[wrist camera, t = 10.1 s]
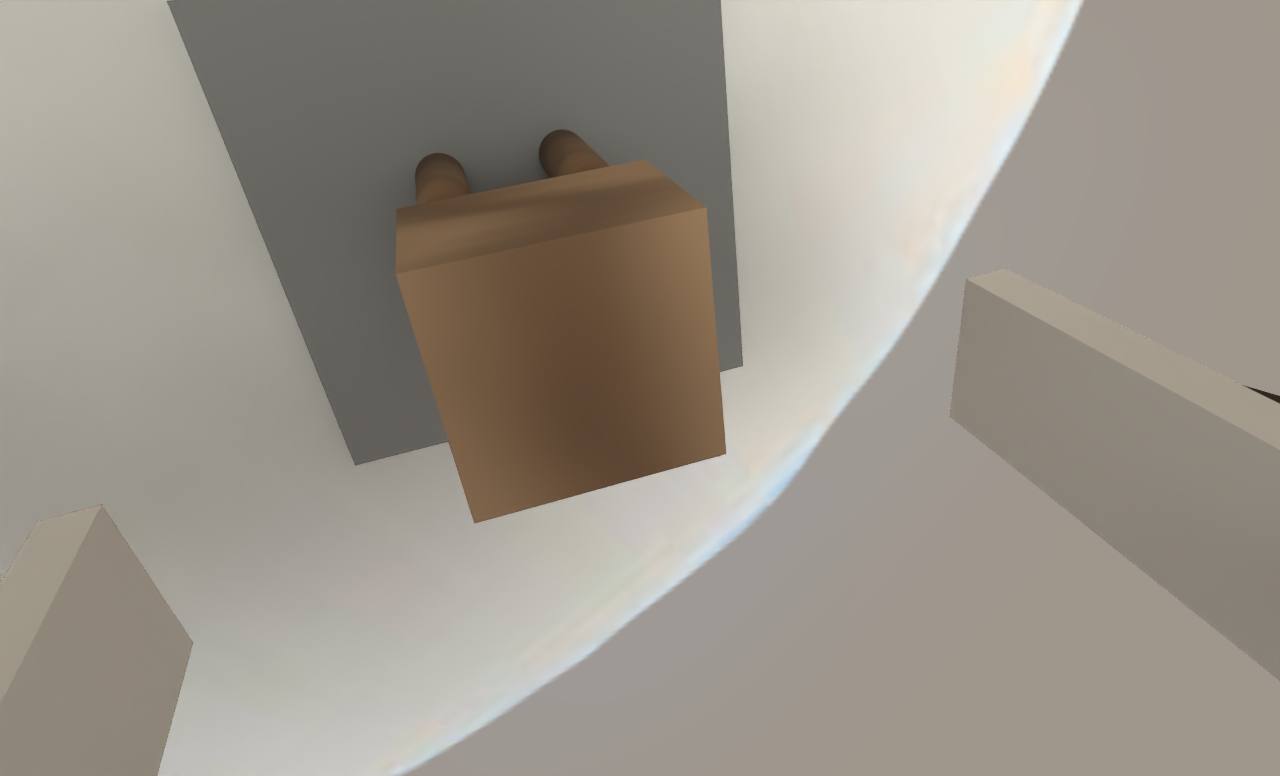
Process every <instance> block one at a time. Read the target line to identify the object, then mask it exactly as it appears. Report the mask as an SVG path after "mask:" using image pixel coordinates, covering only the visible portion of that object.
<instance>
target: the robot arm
mask: <svg viewBox="0 0 1280 776" xmlns="http://www.w3.org/2000/svg"><path fill="white" fill-rule="evenodd" d="M950 417H951V418H952V419H954V420H955V421H956V422H957V423H959V424H960V425H961V426H962V427H964V428H965V429H966V430H967V431H969V432H970V433H971V434H972V435H974V436H975V437H976V438H977V439H979V440H980V441H981V442H982V443H984V444H985V445H986V446H987V447H989V448H990V449H991V450H992V451H994V452H995V453H996V454H997V455H999V456H1000V457H1001V458H1002V459H1003V460H1005V461H1006V462H1007V463H1008V464H1010V465H1011V466H1012V467H1014V468H1015V469H1016V470H1017V471H1018V472H1020V473H1021V474H1022V475H1023V476H1025V477H1026V478H1027V479H1029V480H1030V481H1031V482H1032V483H1034V484H1035V485H1036V486H1037V487H1038V488H1040V489H1041V490H1042V491H1044V492H1045V493H1046V494H1047V495H1048V496H1050V497H1051V498H1052V499H1053V500H1055V501H1056V502H1057V503H1058V504H1060V505H1061V506H1062V507H1063V508H1065V509H1066V510H1067V511H1068V512H1070V513H1071V514H1072V515H1073V516H1075V517H1076V518H1077V519H1078V520H1080V521H1081V522H1082V523H1083V524H1085V525H1086V526H1087V527H1088V528H1090V529H1091V530H1092V531H1093V532H1095V533H1096V534H1097V535H1098V536H1100V537H1101V538H1102V539H1103V540H1105V541H1106V542H1107V543H1108V544H1110V545H1111V546H1112V547H1113V548H1114V549H1116V550H1117V551H1118V552H1119V553H1121V554H1122V555H1123V556H1124V557H1126V558H1127V559H1128V560H1129V561H1131V562H1132V563H1133V564H1135V565H1136V566H1137V567H1138V568H1139V569H1141V570H1142V571H1143V572H1144V573H1146V574H1147V575H1148V576H1149V577H1151V578H1152V579H1153V580H1154V581H1156V582H1157V583H1158V584H1160V585H1161V586H1162V587H1163V588H1164V589H1166V590H1167V591H1168V592H1170V593H1171V594H1172V595H1173V596H1174V597H1176V598H1177V599H1178V600H1179V601H1181V602H1182V603H1183V604H1184V605H1186V606H1187V607H1188V608H1189V609H1191V610H1192V611H1193V612H1194V613H1196V614H1197V615H1198V616H1199V617H1201V618H1202V619H1203V620H1204V621H1206V622H1207V623H1208V624H1209V625H1211V626H1212V627H1213V628H1214V629H1216V630H1217V631H1218V632H1219V633H1221V634H1222V635H1223V636H1224V637H1226V638H1227V639H1228V640H1229V641H1231V642H1232V643H1233V644H1235V645H1236V646H1237V647H1238V648H1239V649H1241V650H1242V651H1243V652H1244V653H1246V654H1247V655H1248V656H1249V657H1251V658H1252V659H1253V660H1254V661H1255V662H1257V663H1258V664H1259V665H1261V666H1262V667H1263V668H1264V669H1265V670H1267V671H1268V672H1269V673H1270V674H1272V675H1273V676H1274V677H1276V678H1277V679H1278V680H1279V681H1280V396H1278V395H1274V394H1271V393H1267V392H1264V391H1261V390H1257V389H1253V388H1250V387H1247V386H1244V385H1241V384H1239V383H1237V382H1235V381H1233V380H1231V379H1229V378H1227V377H1225V376H1223V375H1221V374H1219V373H1217V372H1215V371H1212V370H1210V369H1208V368H1206V367H1204V366H1202V365H1200V364H1198V363H1196V362H1194V361H1192V360H1190V359H1188V358H1186V357H1184V356H1182V355H1180V354H1178V353H1176V352H1174V351H1172V350H1170V349H1168V348H1166V347H1164V346H1162V345H1160V344H1158V343H1156V342H1154V341H1152V340H1150V339H1148V338H1146V337H1144V336H1141V335H1140V334H1138V333H1136V332H1134V331H1131V330H1130V329H1128V328H1125V327H1123V326H1121V325H1119V324H1117V323H1115V322H1113V321H1111V320H1109V319H1107V318H1105V317H1103V316H1101V315H1099V314H1097V313H1095V312H1093V311H1091V310H1089V309H1087V308H1085V307H1083V306H1081V305H1079V304H1077V303H1075V302H1073V301H1071V300H1069V299H1067V298H1065V297H1063V296H1060V295H1059V294H1057V293H1054V292H1052V291H1050V290H1049V289H1047V288H1045V287H1042V286H1040V285H1038V284H1036V283H1034V282H1032V281H1030V280H1028V279H1026V278H1024V277H1022V276H1020V275H1018V274H1016V273H1014V272H1012V271H1010V270H1008V269H1003V270H999V271H994V272H991V273H987V274H983V275H979V276H975V277H971V278H968V279H966V285H965V292H964V301H963V310H962V318H961V326H960V335H959V342H958V351H957V359H956V367H955V376H954V384H953V392H952V401H951V409H950ZM192 645H193V642H192V640H191V639H190V637H189V636H188V634H187V633H186V631H185V630H184V628H183V627H182V625H181V624H180V622H179V621H178V619H177V618H176V616H175V615H174V613H173V612H172V610H171V609H170V607H169V605H168V604H167V602H166V601H165V599H164V598H163V596H162V595H161V593H160V592H159V590H158V589H157V587H156V586H155V584H154V583H153V581H152V580H151V578H150V577H149V575H148V574H147V572H146V571H145V569H144V568H143V566H142V565H141V563H140V562H139V560H138V559H137V557H136V556H135V554H134V553H133V551H132V549H131V548H130V546H129V545H128V543H127V542H126V540H125V539H124V537H123V536H122V534H121V533H120V531H119V530H118V528H117V527H116V525H115V524H114V522H113V521H112V519H111V518H110V516H109V515H108V513H107V512H106V510H105V509H104V507H103V506H102V504H101V505H97V506H93V507H89V508H86V509H82V510H78V511H74V512H70V513H66V514H63V515H59V516H55V517H51V518H47V519H43V520H40V521H37V523H36V524H35V526H34V528H33V529H32V531H31V533H30V534H29V536H28V538H27V539H26V541H25V543H24V544H23V546H22V548H21V549H20V551H19V553H18V554H17V556H16V558H15V559H14V561H13V563H12V564H11V566H10V567H9V569H8V571H7V572H6V574H5V576H4V577H3V579H2V581H1V582H0V776H157V775H158V771H159V767H160V763H161V760H162V756H163V752H164V749H165V745H166V741H167V738H168V734H169V730H170V726H171V723H172V719H173V715H174V712H175V708H176V704H177V701H178V697H179V693H180V689H181V686H182V682H183V678H184V675H185V671H186V667H187V664H188V660H189V656H190V652H191V649H192Z"/></svg>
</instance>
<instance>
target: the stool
mask: <svg viewBox="0 0 1280 776" xmlns="http://www.w3.org/2000/svg"><path fill="white" fill-rule="evenodd" d="M539 160H540V163H541V165H542V167H543V169H544V170H545V171H546V173H547V174H548V176H549V177H550V178H549V179H544V180H539V181H534V182H529V183H524V184H519V185H514V186H509V187H504V188H499V189H494V190H489V191H484V192H479V193H474V194H471V192H470V189H469V185H468V182H467V179H466V176H465V173H464V170H463V167H462V166H461V164H460V163H459V162H458V161H457V160H456V159H455V158H454V157H452V156H450V155H448V154H444V153H433V154H430V155H428V156H426V157H424V158H423V159H422V160H421V161H420V162H419V164H418V166H417V168H416V172H415V183H416V197H417V205H414V206H409V207H404V208H399V209H397V210H396V277H397V281H398V284H399V287H400V290H401V293H402V296H403V300H404V303H405V306H406V309H407V312H408V315H409V318H410V322H411V325H412V328H413V331H414V334H415V337H416V341H417V344H418V347H419V350H420V353H421V356H422V359H423V363H424V366H425V369H426V372H427V375H428V378H429V382H430V385H431V388H432V391H433V394H434V397H435V400H436V404H437V407H438V410H439V413H440V416H441V419H442V422H443V426H444V429H445V432H446V435H447V438H448V441H449V445H450V448H451V451H452V454H453V457H454V460H455V463H456V467H457V470H458V473H459V476H460V479H461V482H462V486H463V489H464V492H465V495H466V498H467V501H468V504H469V508H470V511H471V514H472V517H473V520H474V523H478V522H481V521H485V520H489V519H492V518H496V517H500V516H503V515H507V514H510V513H514V512H518V511H521V510H525V509H528V508H532V507H536V506H539V505H543V504H547V503H550V502H554V501H557V500H561V499H565V498H568V497H572V496H575V495H579V494H583V493H586V492H590V491H594V490H597V489H601V488H604V487H608V486H612V485H615V484H619V483H622V482H626V481H630V480H633V479H637V478H641V477H644V476H648V475H651V474H655V473H659V472H662V471H666V470H669V469H673V468H677V467H680V466H684V465H688V464H691V463H695V462H698V461H702V460H706V459H709V458H713V457H717V456H720V455H724V454H726V446H725V433H724V421H723V408H722V396H721V383H720V371H719V358H718V346H717V333H716V321H715V309H714V296H713V284H712V271H711V259H710V246H709V234H708V221H707V209H706V207H705V206H704V205H703V204H701V203H700V202H699V201H698V200H696V199H695V198H694V197H693V196H691V195H690V194H689V193H687V192H686V191H685V190H684V189H682V188H681V187H680V186H678V185H677V184H676V183H675V182H673V181H672V180H671V179H669V178H668V177H667V176H666V175H664V174H663V173H662V172H660V171H659V170H658V169H657V168H655V167H654V166H653V165H652V164H650V163H649V162H648V161H646V160H645V159H643V160H639V161H634V162H629V163H624V164H619V165H614V166H609V165H608V164H607V163H606V162H605V161H604V160H603V159H602V158H601V157H600V156H599V155H598V154H597V153H596V152H595V151H594V150H592V149H591V148H590V147H589V146H588V145H587V144H586V143H585V142H584V141H583V140H582V139H581V138H580V137H579V136H578V135H576V134H575V133H573V132H572V131H569V130H564V129H560V130H555V131H553V132H551V133H549V134H548V135H547V136H546V137H545V138H544V139H543V140H542V142H541V144H540V147H539Z"/></svg>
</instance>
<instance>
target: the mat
mask: <svg viewBox="0 0 1280 776" xmlns="http://www.w3.org/2000/svg"><path fill="white" fill-rule="evenodd" d="M167 2H168V5H169V7H170V10H171V12H172V15H173V17H174V20H175V22H176V25H177V27H178V29H179V32H180V34H181V37H182V39H183V42H184V44H185V47H186V49H187V52H188V54H189V57H190V59H191V62H192V64H193V66H194V69H195V71H196V74H197V76H198V79H199V81H200V84H201V86H202V89H203V91H204V94H205V96H206V99H207V101H208V103H209V106H210V108H211V111H212V113H213V116H214V118H215V121H216V123H217V126H218V128H219V131H220V133H221V136H222V138H223V140H224V143H225V145H226V148H227V150H228V153H229V155H230V158H231V160H232V163H233V165H234V168H235V170H236V173H237V175H238V177H239V180H240V182H241V185H242V187H243V190H244V192H245V195H246V197H247V200H248V202H249V205H250V207H251V210H252V212H253V214H254V217H255V219H256V222H257V224H258V227H259V229H260V232H261V234H262V237H263V239H264V242H265V244H266V247H267V249H268V251H269V254H270V256H271V259H272V261H273V264H274V266H275V269H276V271H277V274H278V276H279V279H280V281H281V284H282V286H283V288H284V291H285V293H286V296H287V298H288V301H289V303H290V306H291V308H292V311H293V313H294V316H295V318H296V321H297V323H298V325H299V328H300V330H301V333H302V335H303V338H304V340H305V343H306V345H307V348H308V350H309V353H310V355H311V358H312V360H313V362H314V365H315V367H316V370H317V372H318V375H319V377H320V380H321V382H322V385H323V387H324V390H325V392H326V395H327V397H328V399H329V402H330V404H331V407H332V409H333V412H334V414H335V417H336V419H337V422H338V424H339V427H340V429H341V432H342V434H343V436H344V439H345V441H346V444H347V446H348V449H349V451H350V454H351V456H352V459H353V461H354V464H355V465H359V464H362V463H366V462H370V461H374V460H378V459H382V458H386V457H390V456H394V455H398V454H401V453H405V452H409V451H413V450H417V449H421V448H425V447H429V446H433V445H437V444H441V443H444V442H448V438H447V435H446V432H445V429H444V426H443V422H442V419H441V416H440V413H439V410H438V407H437V404H436V400H435V397H434V394H433V391H432V388H431V385H430V382H429V378H428V375H427V372H426V369H425V366H424V363H423V359H422V356H421V353H420V350H419V347H418V344H417V341H416V337H415V334H414V331H413V328H412V325H411V322H410V318H409V315H408V312H407V309H406V306H405V303H404V300H403V296H402V293H401V290H400V287H399V284H398V281H397V277H396V210H397V209H399V208H404V207H409V206H414V205H417V197H416V183H415V172H416V168H417V166H418V164H419V162H420V161H421V160H422V159H423V158H424V157H426V156H428V155H430V154H433V153H444V154H448V155H450V156H452V157H454V158H455V159H456V160H457V161H458V162H459V163H460V164H461V166H462V167H463V170H464V173H465V176H466V179H467V182H468V185H469V189H470V192H471V194H474V193H479V192H484V191H489V190H494V189H499V188H504V187H509V186H514V185H519V184H524V183H529V182H534V181H539V180H544V179H549V178H550V177H549V176H548V174H547V173H546V171H545V170H544V169H543V167H542V165H541V163H540V160H539V147H540V144H541V142H542V140H543V139H544V138H545V137H546V136H547V135H548V134H549V133H551V132H553V131H555V130H560V129H564V130H569V131H572V132H573V133H575V134H576V135H578V136H579V137H580V138H581V139H582V140H583V141H584V142H585V143H586V144H587V145H588V146H589V147H590V148H591V149H592V150H594V151H595V152H596V153H597V154H598V155H599V156H600V157H601V158H602V159H603V160H604V161H605V162H606V163H607V164H608V165H609V166H614V165H619V164H624V163H629V162H634V161H639V160H643V159H645V160H646V161H648V162H649V163H650V164H652V165H653V166H654V167H655V168H657V169H658V170H659V171H660V172H662V173H663V174H664V175H666V176H667V177H668V178H669V179H671V180H672V181H673V182H675V183H676V184H677V185H678V186H680V187H681V188H682V189H684V190H685V191H686V192H687V193H689V194H690V195H691V196H693V197H694V198H695V199H696V200H698V201H699V202H700V203H701V204H703V205H704V206H705V207H706V209H707V221H708V234H709V246H710V259H711V271H712V284H713V296H714V309H715V321H716V333H717V346H718V358H719V371H720V372H722V371H725V370H729V369H733V368H737V367H741V366H743V359H742V343H741V327H740V310H739V294H738V278H737V261H736V245H735V228H734V212H733V196H732V179H731V163H730V147H729V130H728V114H727V98H726V81H725V65H724V49H723V32H722V16H721V0H171V1H167Z"/></svg>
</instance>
